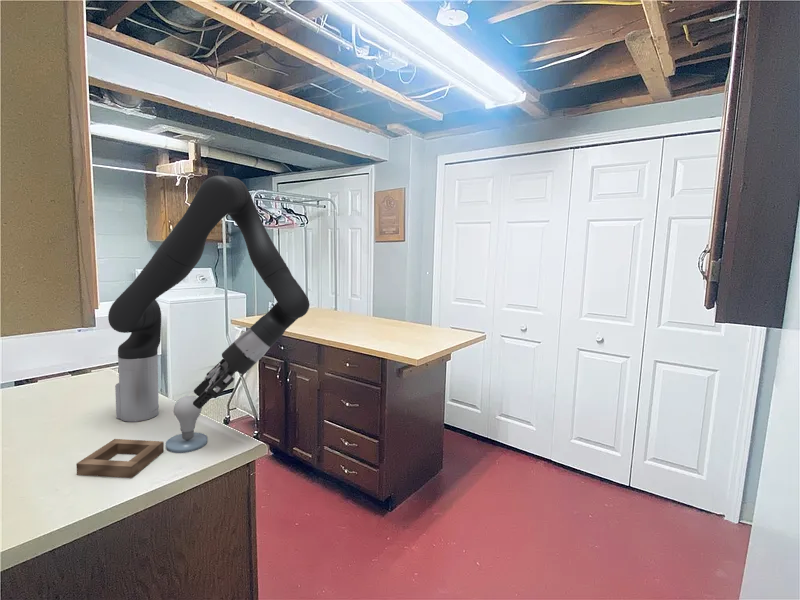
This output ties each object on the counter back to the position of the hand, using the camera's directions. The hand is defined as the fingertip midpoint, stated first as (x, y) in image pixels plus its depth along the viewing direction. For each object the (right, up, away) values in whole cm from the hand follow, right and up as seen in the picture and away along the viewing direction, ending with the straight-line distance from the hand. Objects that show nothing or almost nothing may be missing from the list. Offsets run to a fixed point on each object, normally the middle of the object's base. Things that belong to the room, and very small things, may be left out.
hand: (196, 399), depth 103 cm
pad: (-2, -11, +1) cm, 11 cm away
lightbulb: (-2, -10, 0) cm, 10 cm away
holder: (-12, -12, -9) cm, 19 cm away
